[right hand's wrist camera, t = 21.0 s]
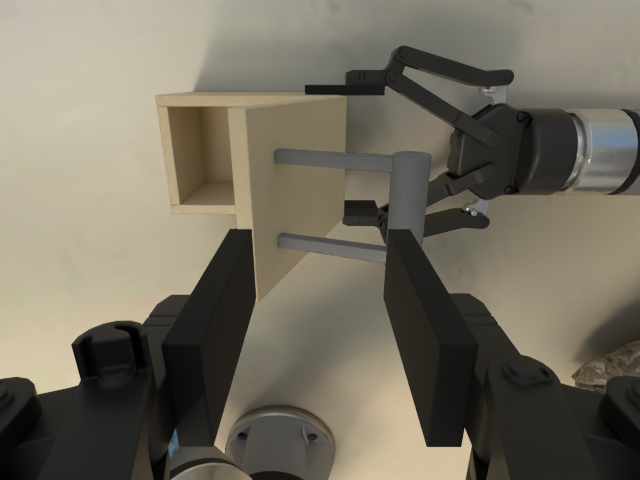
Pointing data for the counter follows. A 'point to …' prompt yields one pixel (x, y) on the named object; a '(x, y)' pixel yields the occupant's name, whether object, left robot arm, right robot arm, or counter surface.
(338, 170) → the lid
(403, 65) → the left robot arm
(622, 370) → the fossil
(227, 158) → the chest
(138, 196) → the counter surface
